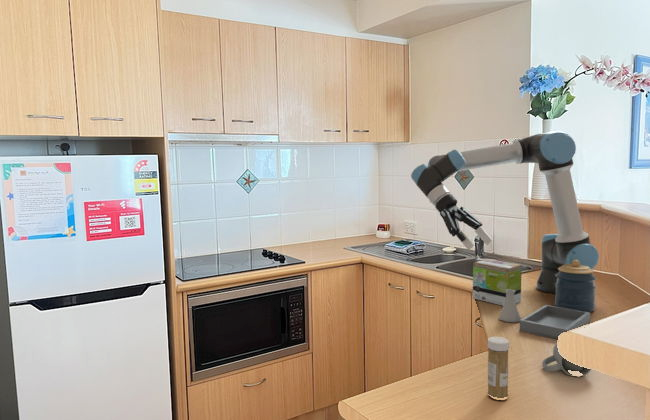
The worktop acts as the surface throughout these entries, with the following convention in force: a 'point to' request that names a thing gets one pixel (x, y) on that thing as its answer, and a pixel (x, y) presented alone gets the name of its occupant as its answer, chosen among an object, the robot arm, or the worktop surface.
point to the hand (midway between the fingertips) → (480, 245)
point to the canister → (575, 287)
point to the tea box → (496, 281)
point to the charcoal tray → (553, 321)
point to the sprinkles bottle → (498, 367)
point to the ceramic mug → (562, 364)
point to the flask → (510, 308)
